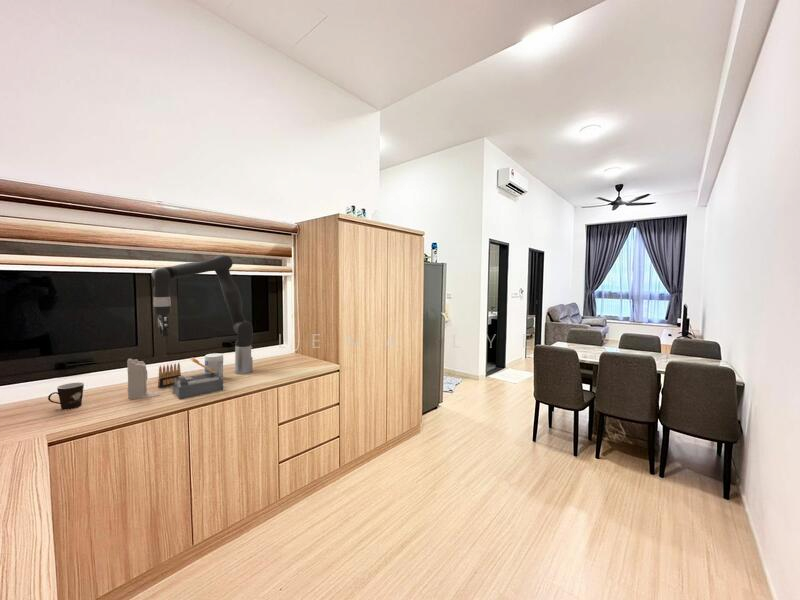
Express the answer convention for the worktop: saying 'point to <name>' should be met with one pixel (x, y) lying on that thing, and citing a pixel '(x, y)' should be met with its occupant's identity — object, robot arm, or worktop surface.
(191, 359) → the retention lever
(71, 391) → the coffee mug
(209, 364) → the supplement tub
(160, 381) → the ammunition clip
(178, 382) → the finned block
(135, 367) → the grey upright block
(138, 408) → the worktop surface
